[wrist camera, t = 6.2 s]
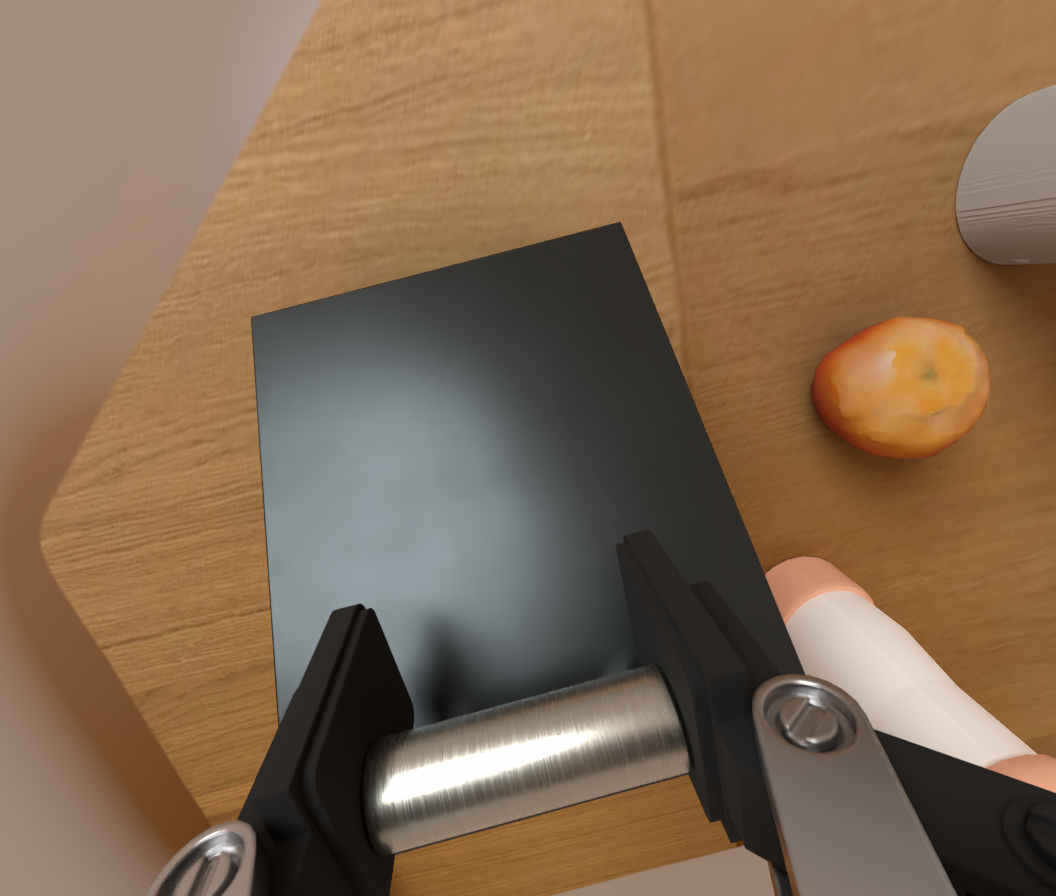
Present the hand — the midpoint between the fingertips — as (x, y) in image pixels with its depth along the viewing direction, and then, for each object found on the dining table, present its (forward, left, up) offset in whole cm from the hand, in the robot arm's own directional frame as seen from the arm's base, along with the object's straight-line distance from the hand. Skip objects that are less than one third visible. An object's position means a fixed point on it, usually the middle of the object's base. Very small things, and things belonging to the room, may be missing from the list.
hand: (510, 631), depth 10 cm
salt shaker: (+27, -3, -21) cm, 34 cm away
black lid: (-1, +1, -5) cm, 5 cm away
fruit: (+20, +12, -21) cm, 31 cm away
